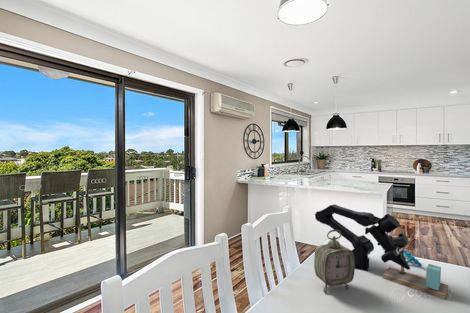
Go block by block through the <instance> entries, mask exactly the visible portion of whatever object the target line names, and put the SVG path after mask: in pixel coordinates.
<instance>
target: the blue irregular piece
mask: <svg viewBox="0 0 470 313" xmlns="http://www.w3.org/2000/svg"><path fill="white" fill-rule="evenodd" d="M403 250H404V257H405V259H406V261H407V263H408V264H409V263H411V262H413V263H414V264H416V265H417V266H418V267H423V264H422V263H421V262H420V261H419V260H418V259H417V258H415V256H414V255H412V254H411V253H410V252H408V251H407V250H406V249H403Z"/></svg>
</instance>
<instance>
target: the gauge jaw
mask: <svg viewBox="0 0 470 313" xmlns="http://www.w3.org/2000/svg"><path fill="white" fill-rule="evenodd" d="M441 272H442V267H441V266H438V265H434V264H431V263H428V264H427V267H426V274H425V276H426V277H425V278H426V287H429V288H432V289H435V290H439V288H440V283H441V274H442V273H441Z"/></svg>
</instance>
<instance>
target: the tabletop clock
mask: <svg viewBox="0 0 470 313" xmlns="http://www.w3.org/2000/svg"><path fill="white" fill-rule="evenodd" d="M336 231H338V232H339V233H340V234H339V233H338V232H337V233H338V234H339V236H337V237H336V236H335V235H333V236H332V238H331V237H329V234H330V233H333V232H336ZM341 237H342V235H341V232H340V231H339V230H334V229H332V230H329V231H328V232H327V234H326V238H327V239H328V242H327V243H326V244H321V245H317V246H316V247H315V249H314V257H313V262H314V265H313V266H314V273H315V276H316V277H317V278H318V279H319V280H321V281H322V282H323V283H324V285H325V286H324V287H325V288H323V293H325V294H327V293H328V289H327V288H328V286H329V287H335V286H337V287H338V286H342V285H345V289H346V290H350V285H349V283H351V282H352V281H353V279H354V277H355V269H356V268H355V256H354V253H353V251H351V250H352V249H349V248H348V247H345V246H344V245H342V244H341V243H340V242H339V241H338V239H340V238H341Z"/></svg>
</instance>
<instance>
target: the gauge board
mask: <svg viewBox="0 0 470 313" xmlns="http://www.w3.org/2000/svg"><path fill="white" fill-rule="evenodd" d="M382 279H383V280H386V281H390V282H392V283H395V284H398V285H401V286H404V287H406V288H409V289H413V290H415V291H418V292H422V293H424V294H426V295H430V296H432V297H436V298H439V299H441V298H442V299H443V300H444V299H445V300H446V299H447V295H448V292H449V284H445V283H442V282H440V288H439V290H435V289H432V288H429V287H426V277H422V276H420V275H417V274H414V273H410V272H407V271H405V268H404V267H402V266H401V267H400V269H397V268H394V267H391V266H388V267H387V269H386V270H385V271H384V272H383V273H382Z"/></svg>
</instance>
